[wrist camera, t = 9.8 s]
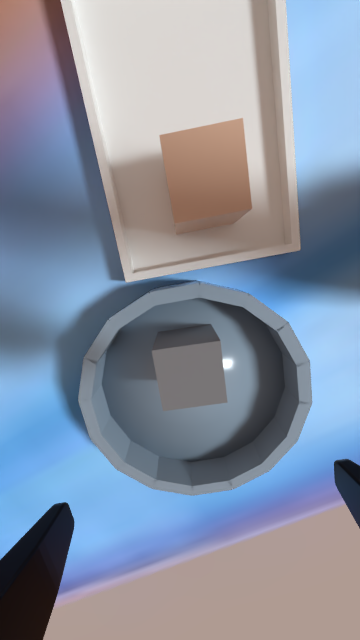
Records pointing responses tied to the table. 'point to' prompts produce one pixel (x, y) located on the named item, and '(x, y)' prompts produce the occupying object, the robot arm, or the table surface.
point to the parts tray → (187, 119)
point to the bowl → (204, 421)
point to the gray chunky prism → (189, 367)
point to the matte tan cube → (207, 175)
